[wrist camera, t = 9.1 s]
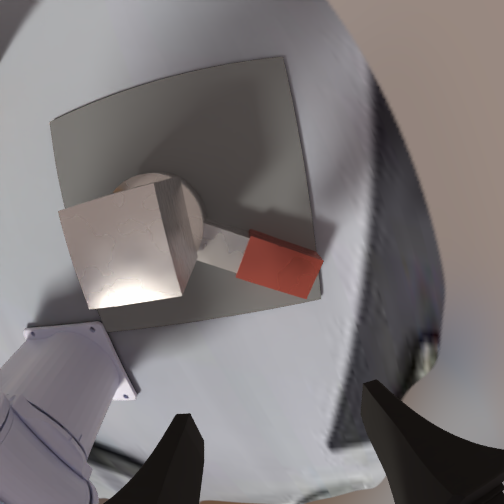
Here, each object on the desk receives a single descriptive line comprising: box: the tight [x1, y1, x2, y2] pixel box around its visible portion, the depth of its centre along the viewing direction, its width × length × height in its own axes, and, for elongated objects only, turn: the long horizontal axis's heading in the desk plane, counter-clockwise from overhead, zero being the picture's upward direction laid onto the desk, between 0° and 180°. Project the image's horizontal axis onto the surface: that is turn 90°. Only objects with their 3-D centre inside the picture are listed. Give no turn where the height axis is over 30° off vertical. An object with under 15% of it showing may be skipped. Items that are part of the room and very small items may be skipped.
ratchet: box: [113, 172, 323, 299], centre depth 16 cm, size 13×6×5 cm, turn 70°
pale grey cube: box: [58, 176, 198, 310], centre depth 14 cm, size 5×5×5 cm
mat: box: [50, 57, 321, 332], centre depth 18 cm, size 16×16×1 cm
